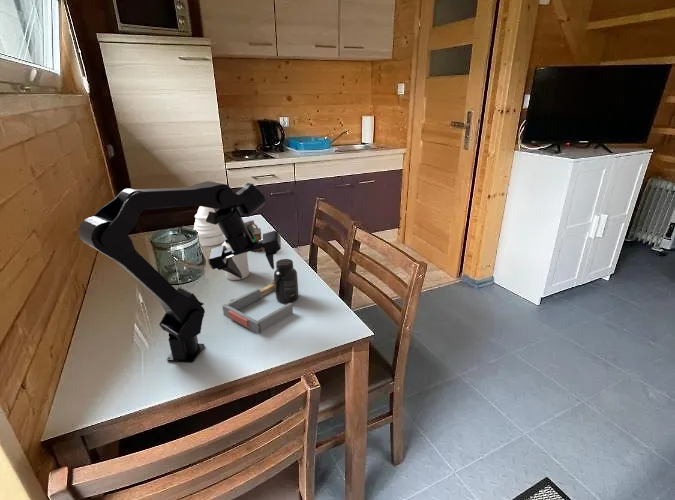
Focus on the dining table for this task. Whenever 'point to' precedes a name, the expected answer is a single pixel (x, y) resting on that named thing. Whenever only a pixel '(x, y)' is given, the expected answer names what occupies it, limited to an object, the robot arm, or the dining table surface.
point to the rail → (266, 289)
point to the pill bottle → (238, 264)
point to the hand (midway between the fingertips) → (257, 272)
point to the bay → (256, 326)
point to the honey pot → (207, 228)
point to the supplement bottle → (286, 281)
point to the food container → (256, 235)
